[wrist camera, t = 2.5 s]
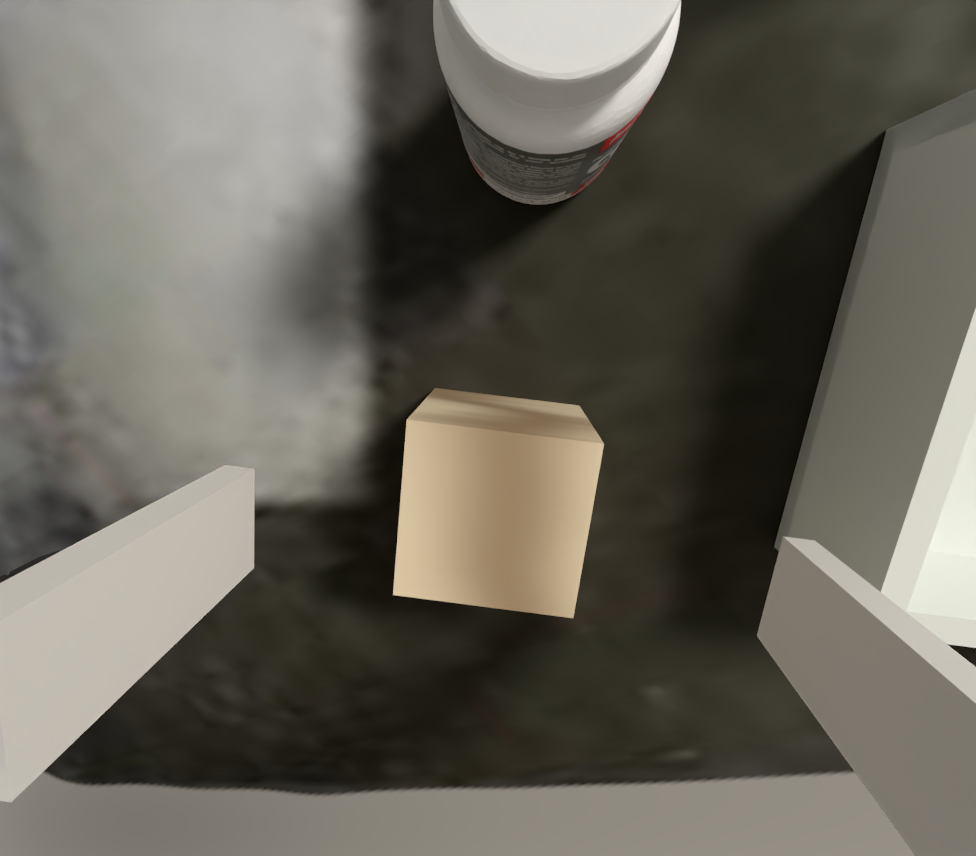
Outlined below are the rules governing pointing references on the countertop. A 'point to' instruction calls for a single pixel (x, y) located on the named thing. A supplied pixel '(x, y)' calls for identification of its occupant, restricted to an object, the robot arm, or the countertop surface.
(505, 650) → the countertop surface
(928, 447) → the tote
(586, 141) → the pill bottle
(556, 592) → the cube
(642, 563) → the countertop surface
